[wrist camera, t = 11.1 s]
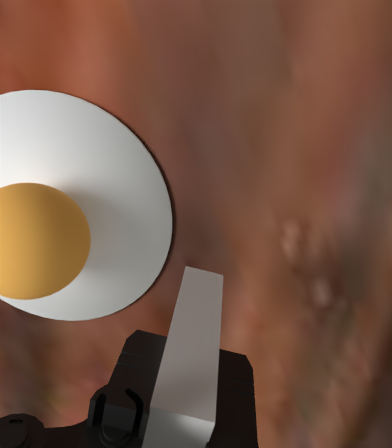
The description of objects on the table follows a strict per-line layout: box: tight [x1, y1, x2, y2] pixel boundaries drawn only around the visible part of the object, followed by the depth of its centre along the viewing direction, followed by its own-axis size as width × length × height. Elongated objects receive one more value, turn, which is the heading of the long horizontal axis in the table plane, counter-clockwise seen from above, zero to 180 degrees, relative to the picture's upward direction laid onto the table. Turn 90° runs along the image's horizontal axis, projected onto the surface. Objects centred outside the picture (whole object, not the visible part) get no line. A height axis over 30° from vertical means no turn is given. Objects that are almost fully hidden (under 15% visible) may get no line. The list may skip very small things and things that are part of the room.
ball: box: [0, 183, 91, 300], centre depth 17 cm, size 6×6×6 cm
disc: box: [0, 90, 172, 321], centre depth 20 cm, size 13×13×1 cm
